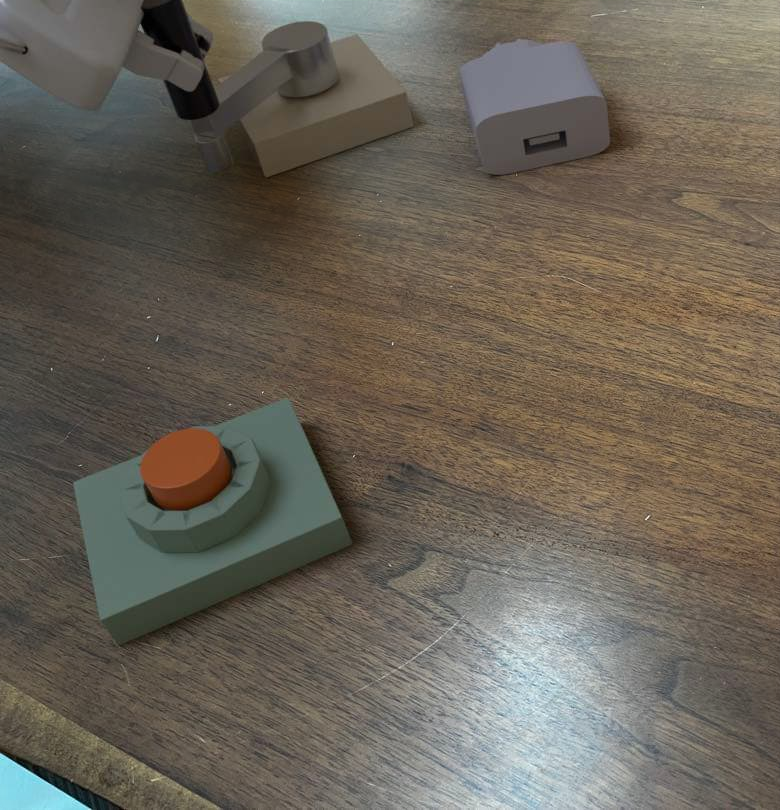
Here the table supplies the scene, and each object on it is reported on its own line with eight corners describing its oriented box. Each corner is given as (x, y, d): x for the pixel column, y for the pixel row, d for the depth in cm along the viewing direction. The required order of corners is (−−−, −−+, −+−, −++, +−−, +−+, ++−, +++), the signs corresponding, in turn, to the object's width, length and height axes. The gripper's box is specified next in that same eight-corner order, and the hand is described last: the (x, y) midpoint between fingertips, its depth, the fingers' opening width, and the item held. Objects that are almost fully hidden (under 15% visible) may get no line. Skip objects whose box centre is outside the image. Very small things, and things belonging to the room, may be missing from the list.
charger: (568, 59, 88) (611, 152, 78) (457, 82, 88) (485, 179, 77) (561, 3, 85) (605, 91, 74) (446, 26, 85) (474, 119, 74)
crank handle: (304, 71, 87) (256, -88, 79) (354, 79, 85) (311, -84, 77) (180, 170, 78) (111, 3, 70) (233, 182, 76) (168, 11, 68)
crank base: (265, 178, 81) (253, 143, 79) (229, 112, 89) (217, 78, 87) (414, 126, 84) (406, 91, 82) (365, 67, 92) (357, 33, 90)
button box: (118, 646, 52) (83, 597, 49) (89, 508, 59) (57, 458, 56) (353, 544, 55) (332, 493, 52) (299, 423, 61) (279, 372, 59)
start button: (160, 523, 52) (147, 500, 51) (146, 470, 55) (133, 447, 54) (240, 491, 53) (228, 467, 52) (222, 440, 56) (211, 416, 55)
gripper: (-40, -36, 57) (203, 104, 64) (54, -160, 72) (244, -35, 79) (-79, 55, 61) (156, 180, 67) (18, -81, 75) (204, 32, 82)
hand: (204, 63), depth 73 cm, fingers closed on crank handle, 3 cm apart
